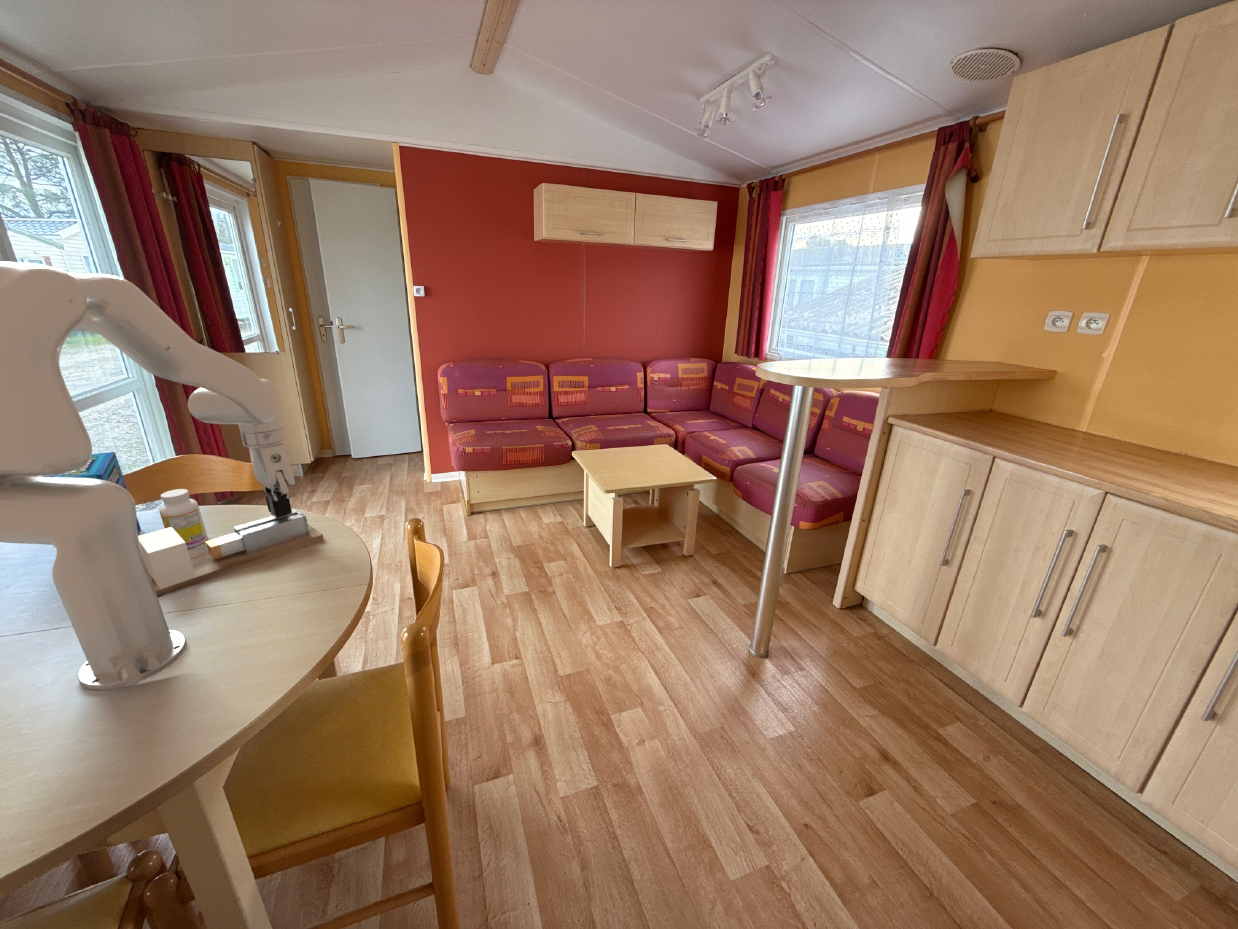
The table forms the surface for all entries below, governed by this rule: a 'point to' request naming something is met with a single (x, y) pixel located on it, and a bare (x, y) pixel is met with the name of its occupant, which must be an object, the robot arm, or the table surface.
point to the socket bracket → (166, 557)
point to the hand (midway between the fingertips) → (280, 511)
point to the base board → (236, 561)
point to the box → (101, 471)
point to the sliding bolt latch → (234, 538)
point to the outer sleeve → (272, 531)
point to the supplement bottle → (183, 517)
